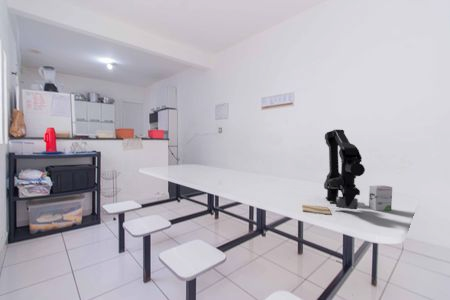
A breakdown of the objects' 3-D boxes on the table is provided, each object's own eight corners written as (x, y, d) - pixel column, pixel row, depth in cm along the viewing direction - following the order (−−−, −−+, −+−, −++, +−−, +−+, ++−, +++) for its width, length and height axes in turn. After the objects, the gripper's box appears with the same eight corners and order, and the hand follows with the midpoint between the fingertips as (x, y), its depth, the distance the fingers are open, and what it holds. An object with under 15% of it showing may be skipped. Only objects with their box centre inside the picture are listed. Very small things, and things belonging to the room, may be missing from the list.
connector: (329, 204, 107) (329, 195, 107) (362, 207, 102) (363, 198, 102) (330, 206, 103) (330, 197, 103) (365, 210, 99) (365, 200, 99)
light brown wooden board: (302, 205, 110) (302, 204, 110) (327, 208, 106) (327, 207, 106) (302, 211, 101) (302, 210, 101) (330, 214, 97) (330, 213, 97)
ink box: (383, 207, 110) (384, 184, 110) (392, 210, 105) (393, 186, 105) (368, 207, 109) (369, 184, 109) (375, 210, 104) (376, 186, 104)
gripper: (326, 169, 114) (325, 198, 114) (332, 174, 96) (331, 208, 97) (350, 170, 110) (349, 200, 111) (361, 176, 92) (359, 211, 93)
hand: (346, 205), depth 103 cm, fingers closed on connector, 4 cm apart
